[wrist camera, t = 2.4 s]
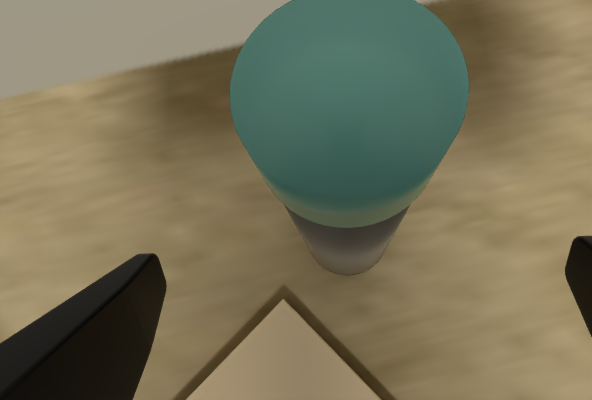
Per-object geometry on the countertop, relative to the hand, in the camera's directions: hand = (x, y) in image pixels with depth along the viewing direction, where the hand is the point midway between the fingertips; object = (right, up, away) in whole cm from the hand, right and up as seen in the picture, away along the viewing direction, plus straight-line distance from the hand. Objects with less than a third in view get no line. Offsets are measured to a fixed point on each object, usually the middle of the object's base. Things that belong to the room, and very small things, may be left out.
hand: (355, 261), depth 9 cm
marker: (+1, 0, +10) cm, 10 cm away
